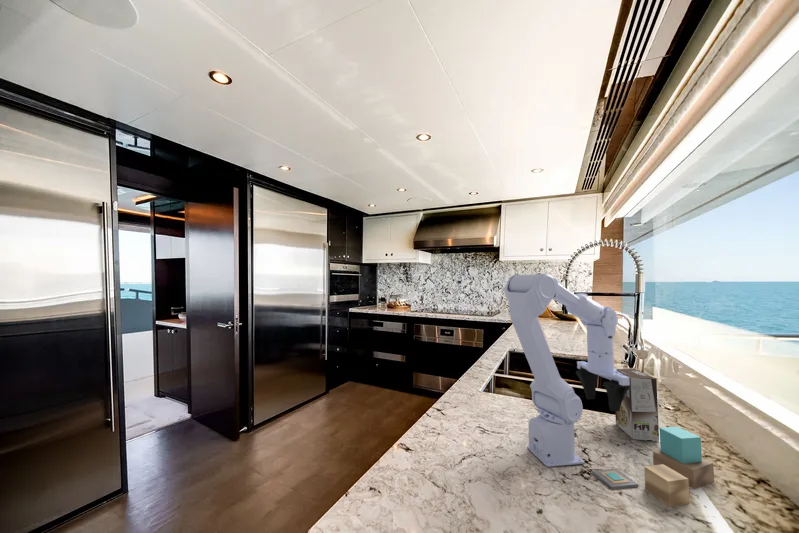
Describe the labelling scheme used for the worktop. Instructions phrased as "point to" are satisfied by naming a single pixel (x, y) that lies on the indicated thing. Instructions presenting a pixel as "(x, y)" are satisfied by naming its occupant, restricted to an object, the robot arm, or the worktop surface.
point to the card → (615, 479)
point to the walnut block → (687, 469)
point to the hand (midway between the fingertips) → (602, 404)
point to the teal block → (680, 444)
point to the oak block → (667, 485)
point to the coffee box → (639, 407)
